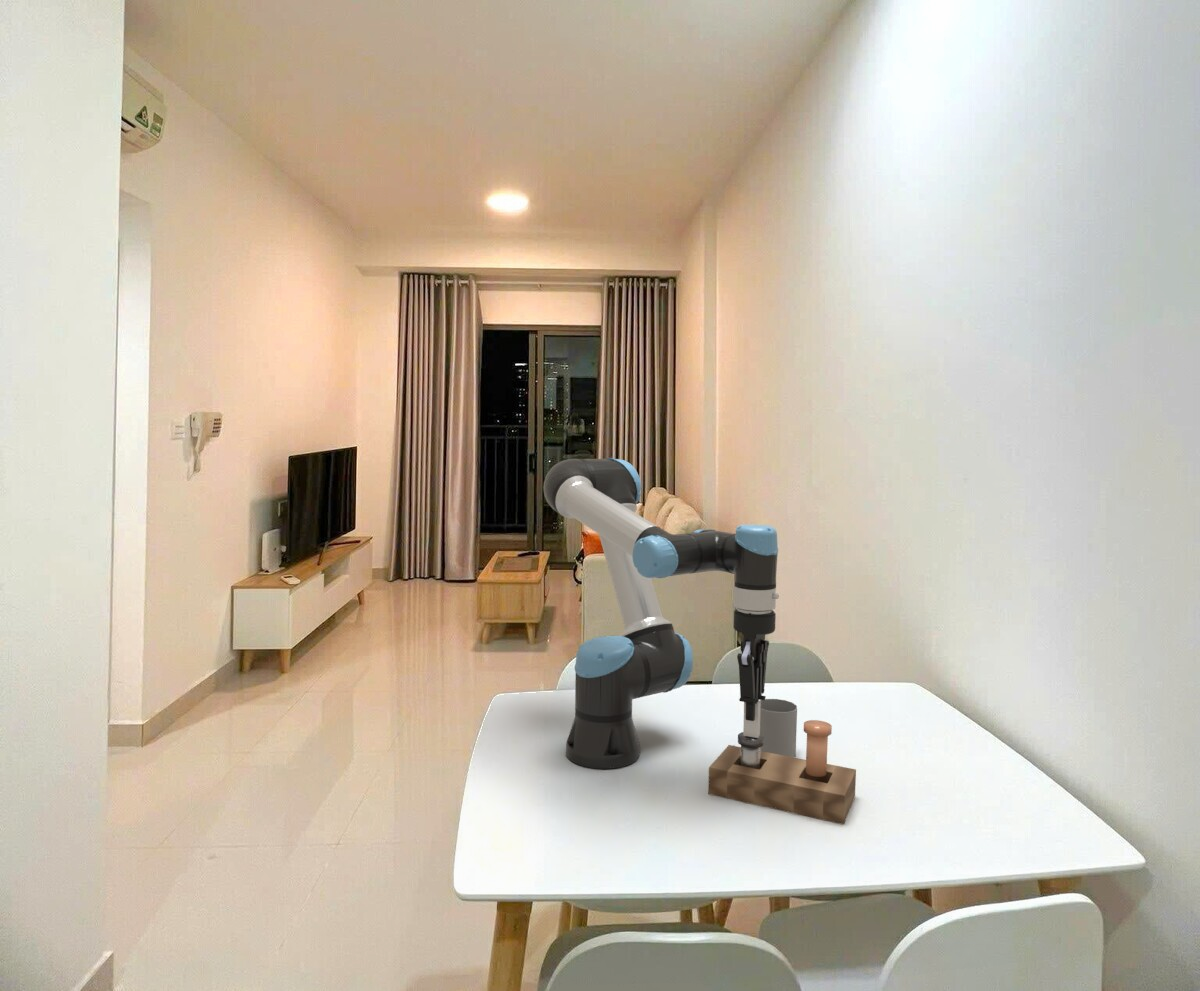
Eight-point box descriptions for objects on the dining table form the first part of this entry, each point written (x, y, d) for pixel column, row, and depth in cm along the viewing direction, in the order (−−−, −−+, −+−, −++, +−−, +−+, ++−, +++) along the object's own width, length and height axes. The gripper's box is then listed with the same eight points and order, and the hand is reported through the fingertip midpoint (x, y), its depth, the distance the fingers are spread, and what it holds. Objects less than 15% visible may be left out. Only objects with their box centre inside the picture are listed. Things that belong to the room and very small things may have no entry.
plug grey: (733, 784, 145) (734, 738, 145) (740, 774, 149) (742, 729, 149) (758, 789, 143) (760, 743, 142) (765, 779, 147) (767, 734, 147)
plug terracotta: (799, 774, 140) (801, 726, 139) (805, 764, 144) (806, 718, 143) (827, 780, 137) (828, 731, 137) (832, 770, 142) (833, 723, 141)
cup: (796, 762, 158) (797, 714, 158) (754, 758, 160) (756, 710, 159) (794, 746, 167) (796, 700, 166) (755, 743, 168) (756, 697, 167)
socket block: (708, 793, 144) (708, 767, 143) (728, 769, 154) (728, 744, 154) (843, 824, 133) (844, 795, 133) (855, 796, 144) (856, 769, 143)
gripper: (765, 618, 136) (762, 751, 138) (783, 605, 148) (780, 727, 150) (724, 614, 140) (721, 743, 141) (744, 601, 151) (741, 721, 153)
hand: (751, 735), depth 145 cm, fingers closed
